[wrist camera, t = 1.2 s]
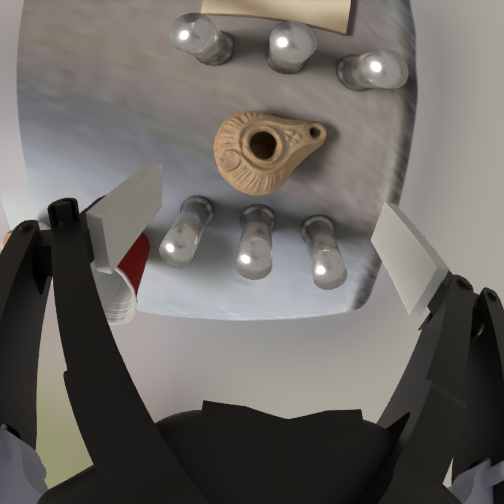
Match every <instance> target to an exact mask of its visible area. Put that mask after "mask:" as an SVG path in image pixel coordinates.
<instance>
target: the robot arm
mask: <svg viewBox="0 0 504 504" xmlns="http://www.w3.org/2000/svg"><path fill="white" fill-rule="evenodd" d="M161 208H162V164H159V163H149V164H148V165H146V166H145V167H143V168H142V169H141V170H139V171H138V172H137V173H135V174H134V175H132V176H131V177H130V178H128V179H127V180H126V181H124V182H123V183H122V184H120V185H119V186H118V187H117V188H115V189H114V190H113V191H111V192H110V193H109V194H108V195H105V196H103V197H100V198H98V199H97V200H96V201H94V202H93V203H92V204H91V205H90V206H88V208H86V209H85V210H84V211H82V212H81V213H80V214H79V209H78V202H77V200H76V199H74V198H63V199H60V200H57V201H55V202H53V203H51V204H50V205H49V206H48V208H47V209H48V214H49V219H50V224H51V229H49V230H40V227H39V223H38V221H36V220H28V221H27V220H26V221H23V222H21V223H20V224H19V225H18V226H16V228H15V229H14V230H13V232H12V233H11V235H10V237H9V239H8V240H7V242H6V244H5V246H4V248H3V250H2V252H1V254H0V504H504V309H503V306H502V304H501V301H500V299H499V297H498V296H497V293H495V291H493V290H491V289H489V288H487V287H486V288H483V290H482V291H481V293H480V295H478V294H476V293H474V292H473V287H472V285H471V284H470V283H469V282H468V281H467V279H465V278H464V277H462V276H460V275H453V274H452V273H451V272H450V270H449V268H448V267H447V265H446V264H445V263H444V261H443V260H442V259H441V257H440V256H439V255H438V253H437V252H436V251H435V250H434V248H433V247H432V246H431V245H430V243H429V242H428V241H427V240H426V239H425V237H424V236H423V235H422V234H421V233H420V232H419V230H418V229H417V228H416V227H415V225H414V224H413V223H412V222H411V221H410V220H409V219H408V218H407V216H406V215H405V214H404V213H403V212H402V211H401V210H400V209H399V208H398V206H397V205H396V204H393V203H390V202H386V201H385V202H384V205H383V208H382V211H381V214H380V216H379V219H378V222H377V225H376V227H375V230H374V233H373V235H372V238H371V242H372V244H373V245H374V247H375V249H376V251H377V253H378V254H379V256H380V258H381V260H382V262H383V264H384V265H385V267H386V269H387V271H388V273H389V275H390V277H391V279H392V281H393V283H394V285H395V287H396V289H397V291H398V293H399V295H400V297H401V299H402V301H403V303H404V306H405V308H406V310H407V312H408V314H409V315H410V316H421V315H422V314H423V312H424V311H425V309H426V308H427V306H428V308H429V310H430V313H429V315H428V316H427V318H426V319H425V321H424V322H423V324H422V325H421V326H420V328H419V329H418V330H421V329H422V331H421V334H420V336H419V339H418V341H417V344H416V346H415V349H414V351H413V354H412V356H411V358H410V360H409V363H408V365H407V367H406V369H405V371H404V374H403V376H402V378H401V380H400V382H399V384H398V386H397V388H396V390H395V392H394V394H393V395H392V397H391V399H390V401H389V403H388V405H387V407H386V408H385V410H384V412H383V414H382V416H381V417H380V419H379V420H378V422H377V423H376V424H375V423H373V422H370V421H367V420H363V417H362V411H361V409H357V410H328V411H323V412H319V413H315V414H311V415H307V416H302V417H297V418H292V419H284V418H281V417H277V416H274V415H271V414H267V413H264V412H261V411H258V410H255V409H252V408H249V407H246V406H239V405H230V404H224V403H217V402H211V401H205V400H204V401H203V406H202V410H192V411H187V412H181V413H178V414H174V415H171V416H169V417H166V418H164V419H162V420H161V421H158V422H157V423H154V422H153V420H152V418H151V416H150V414H149V413H148V411H147V409H146V407H145V405H144V403H143V401H142V399H141V397H140V395H139V394H138V391H137V389H136V387H135V385H134V383H133V381H132V379H131V377H130V374H129V372H128V370H127V368H126V366H125V363H124V361H123V359H122V356H121V354H120V352H119V350H118V348H117V345H116V343H115V340H114V338H113V335H112V332H111V330H110V327H109V324H108V321H107V318H106V316H105V313H104V310H103V307H102V304H101V300H100V297H99V294H98V291H97V287H96V284H95V281H94V277H93V273H92V270H91V266H90V264H91V263H92V262H93V261H95V265H96V269H97V271H100V272H104V273H109V274H112V273H113V271H114V270H115V268H116V267H117V266H118V264H119V263H120V261H121V260H122V258H123V257H124V256H125V254H126V253H127V252H128V250H129V249H130V247H131V246H132V245H133V243H134V242H135V241H136V239H137V238H138V237H139V235H140V234H141V233H142V232H143V230H144V229H145V228H146V226H147V225H148V224H149V223H150V221H151V220H152V219H153V218H154V216H155V215H156V214H157V213H158V211H159V210H160V209H161ZM52 276H53V287H54V296H55V305H56V313H57V320H58V325H59V332H60V337H61V342H62V347H63V352H64V357H65V361H66V365H67V371H65V372H64V382H65V386H66V390H67V393H68V397H69V400H70V403H71V406H72V410H73V413H74V416H75V419H76V422H77V425H78V427H79V430H80V433H81V435H82V438H83V440H84V443H85V445H86V448H87V450H88V453H89V455H90V457H91V459H92V462H93V465H92V466H90V467H88V468H87V469H85V470H83V471H82V472H80V473H78V474H76V475H75V476H73V477H71V478H69V479H68V480H66V481H64V482H62V483H60V484H58V485H57V486H55V487H53V488H51V489H48V487H47V486H46V484H45V481H44V479H45V478H46V469H45V467H44V466H43V464H42V463H41V460H40V457H39V456H38V454H37V452H36V451H35V450H36V437H37V416H36V415H37V414H36V390H37V389H36V388H37V370H38V358H39V347H40V339H41V332H42V325H43V319H44V313H45V308H46V303H47V298H48V293H49V289H50V284H51V280H52ZM482 329H483V330H482ZM481 331H482V332H481ZM480 332H481V333H480ZM479 333H480V334H479ZM452 458H453V464H452V486H451V487H448V488H446V487H445V486H444V485H443V484H442V483H443V481H444V479H445V476H446V474H447V471H448V469H449V466H450V464H451V461H452Z"/></svg>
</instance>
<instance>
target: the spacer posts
mask: <svg viewBox="0 0 504 504" xmlns="http://www.w3.org/2000/svg"><path fill="white" fill-rule="evenodd" d="M169 40H170V42H171V44H172V45H173V46H174V47H175V48H177V49H179V50H181V51H184V52H186V53H189V54H191V55H193V56H195V57H196V59H197V60H198V61H200V62H201V63H203V64H206V65H210V66H215V65H220V64H222V63H224V62H226V61H227V60H228V59H229V58H230V57H231V55H232V53H233V50H234V45H233V42H232V40H231V38H230V37H229V36H228V35H227V34H225V33H224V32H221V31H219V30H218V28H217V27H216V26H215V25H214V24H213V23H212V22H211V20H210V19H209V18H208V17H206V16H205V15H203V14H200V13H189V14H185V15H183V16H181V17H179V18H178V19H177V20H175V21H174V23H173V24H172V25H171V27H170V30H169ZM316 47H317V38H316V35H315V33H314V32H313V30H312V29H311V28H310V27H309V26H307V25H305V24H303V23H301V22H297V21H286V22H283V23H280V24H279V25H277V26H276V27H275V28H274V29H273V30H272V32H271V35H270V45H269V46H268V48H267V50H266V60H267V63H268V65H269V66H270V67H271V68H272V69H273V70H275V71H276V72H279V73H282V74H292V73H295V72H297V71H299V70H300V69H301V68H302V67H303V66H304V65H305V62H306V59H308V58H309V57H310V56H311V55H312V54H313V53H314V52H315V50H316ZM336 73H337V77H338V79H339V81H340V82H341V83H342V84H343V85H344V86H345V87H346V88H348V89H350V90H354V91H362V90H366V89H368V88H391V89H395V88H399V87H401V86H403V85H404V84H405V83H406V81H407V79H408V67H407V64H406V62H405V60H404V59H403V57H402V56H401V55H400V54H398V53H397V52H395V51H393V50H391V49H380V50H376V51H373V52H370V53H366V54H363V55H360V56H357V55H350V56H347V57H344V58H343V59H341V60H340V61H339V63H338V65H337V69H336ZM213 215H214V209H213V206H212V204H211V203H210V202H209V201H208V200H207V199H206V198H204V197H201V196H191V197H189V198H187V199H186V200H185V201H184V203H183V204H182V206H181V208H180V214H179V216H178V217H177V219H176V220H175V222H174V224H173V225H172V227H171V228H170V230H169V232H168V233H167V235H166V236H165V238H164V240H163V241H162V243H161V245H160V247H159V254H160V256H161V258H162V260H163V261H164V262H165V263H166V264H168V265H169V266H172V267H175V268H183V267H186V266H188V265H189V264H190V263H191V261H192V259H193V256H194V254H195V251H196V249H197V246H198V244H199V241H200V239H201V237H202V234H203V232H204V229H205V227H206V226H208V225H209V224H210V222H211V221H212V218H213ZM240 223H241V227H242V232H241V238H240V243H239V249H238V254H237V260H236V268H237V271H238V272H239V273H240V274H241V275H242V276H243V277H245V278H247V279H251V280H258V279H262V278H264V277H266V276H267V275H268V274H269V273H270V272H271V269H272V230H273V229H274V226H275V217H274V214H273V212H272V211H271V210H270V209H269V208H268V207H266V206H264V205H259V204H256V205H251V206H249V207H247V208H246V209H245V210H244V211H243V213H242V215H241V220H240ZM301 235H302V238H303V240H304V241H305V242H306V244H307V249H308V254H309V258H310V264H311V269H312V274H313V279H314V283H315V284H316V285H317V286H318V287H319V288H321V289H325V290H330V289H335V288H337V287H339V286H340V285H342V284H343V283H344V282H345V280H346V278H347V270H346V268H345V265H344V262H343V259H342V256H341V254H340V251H339V248H338V246H337V243H336V240H335V238H334V227H333V224H332V222H331V221H330V219H329V218H327V217H326V216H323V215H313V216H310V217H308V218H307V219H306V220H305V221H304V222H303V224H302V226H301Z"/></svg>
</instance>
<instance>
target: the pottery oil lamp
mask: <svg viewBox="0 0 504 504" xmlns="http://www.w3.org/2000/svg"><path fill="white" fill-rule="evenodd" d="M326 137H327V130H326V129H325V127H324V126H323V125H322V124H320V123H318V122H310V121H305V120H290V119H283V118H280V117H276V116H273V115H269V114H265V113H262V112H258V111H242V112H239V113H236V114H234V115H232V116H231V117H229V118H228V119H227V120H226V121H225V122H224V123H223V124H222V125H221V127H220V128H219V130H218V132H217V134H216V137H215V140H214V146H213V149H214V156H215V161H216V165H217V167H218V170H219V172H220V173H221V175H222V176H223V178H224V179H225V180H226V181H227V182H229V183H230V184H231V185H232V186H233V187H235V188H236V189H237V190H238V191H241V192H243V193H246V194H250V195H258V196H262V195H267V194H270V193H272V192H274V191H275V190H277V189H278V188H279V187H281V186H282V185H283V184H284V183H285V181H286V180H287V179H288V177H289V176H290V174H291V173H292V172H293V170H294V169H295V168H296V167H297V166H298V165H299V164H300V163H301V162H302V161H303V160H304V159H305V158H306V157H307V156H308V155H310V154H311V153H312V152H313V151H315V150H316V149H317V148H319V147H320V146H322V145H323V143H324V141H325V139H326Z"/></svg>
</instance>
